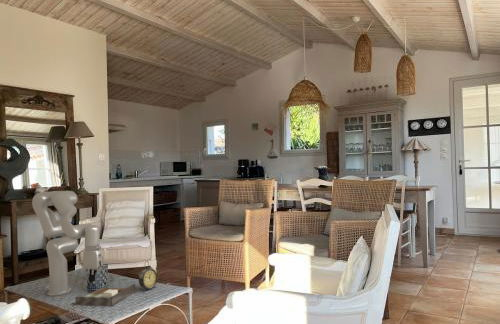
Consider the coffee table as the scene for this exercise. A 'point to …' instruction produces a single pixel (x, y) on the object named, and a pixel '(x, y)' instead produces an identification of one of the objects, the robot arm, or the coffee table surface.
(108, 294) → the block
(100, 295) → the box
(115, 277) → the coffee table surface
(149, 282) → the alarm clock
